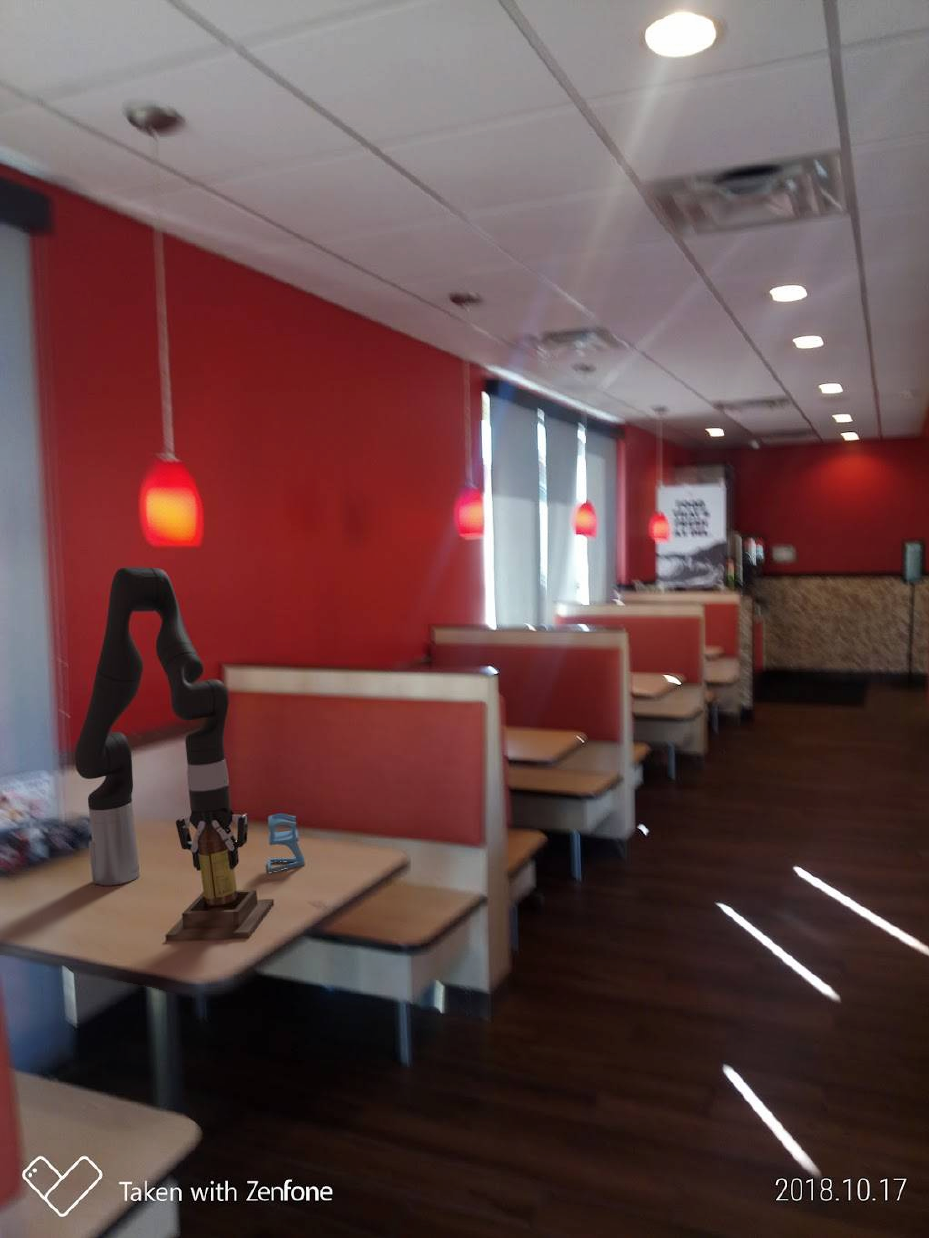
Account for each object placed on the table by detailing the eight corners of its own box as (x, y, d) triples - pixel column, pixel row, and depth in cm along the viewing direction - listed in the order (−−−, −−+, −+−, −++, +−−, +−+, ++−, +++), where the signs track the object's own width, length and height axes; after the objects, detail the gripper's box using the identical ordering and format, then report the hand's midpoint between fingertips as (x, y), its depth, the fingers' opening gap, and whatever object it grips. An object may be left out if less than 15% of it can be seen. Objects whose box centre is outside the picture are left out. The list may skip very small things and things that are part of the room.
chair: (305, 868, 210) (301, 816, 209) (267, 874, 209) (263, 821, 208) (304, 858, 218) (299, 807, 217) (267, 863, 216) (263, 812, 215)
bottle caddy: (166, 941, 176) (163, 919, 175) (197, 907, 191) (195, 887, 191) (248, 938, 174) (246, 916, 174) (274, 904, 190) (272, 884, 190)
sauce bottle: (242, 894, 185) (232, 796, 184) (231, 906, 179) (221, 805, 177) (210, 895, 186) (200, 797, 184) (198, 908, 180) (188, 806, 178)
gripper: (164, 791, 178) (173, 877, 179) (238, 787, 176) (246, 874, 178) (180, 780, 185) (188, 863, 186) (250, 777, 184) (258, 860, 185)
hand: (216, 868), depth 182 cm, fingers closed on sauce bottle, 6 cm apart
